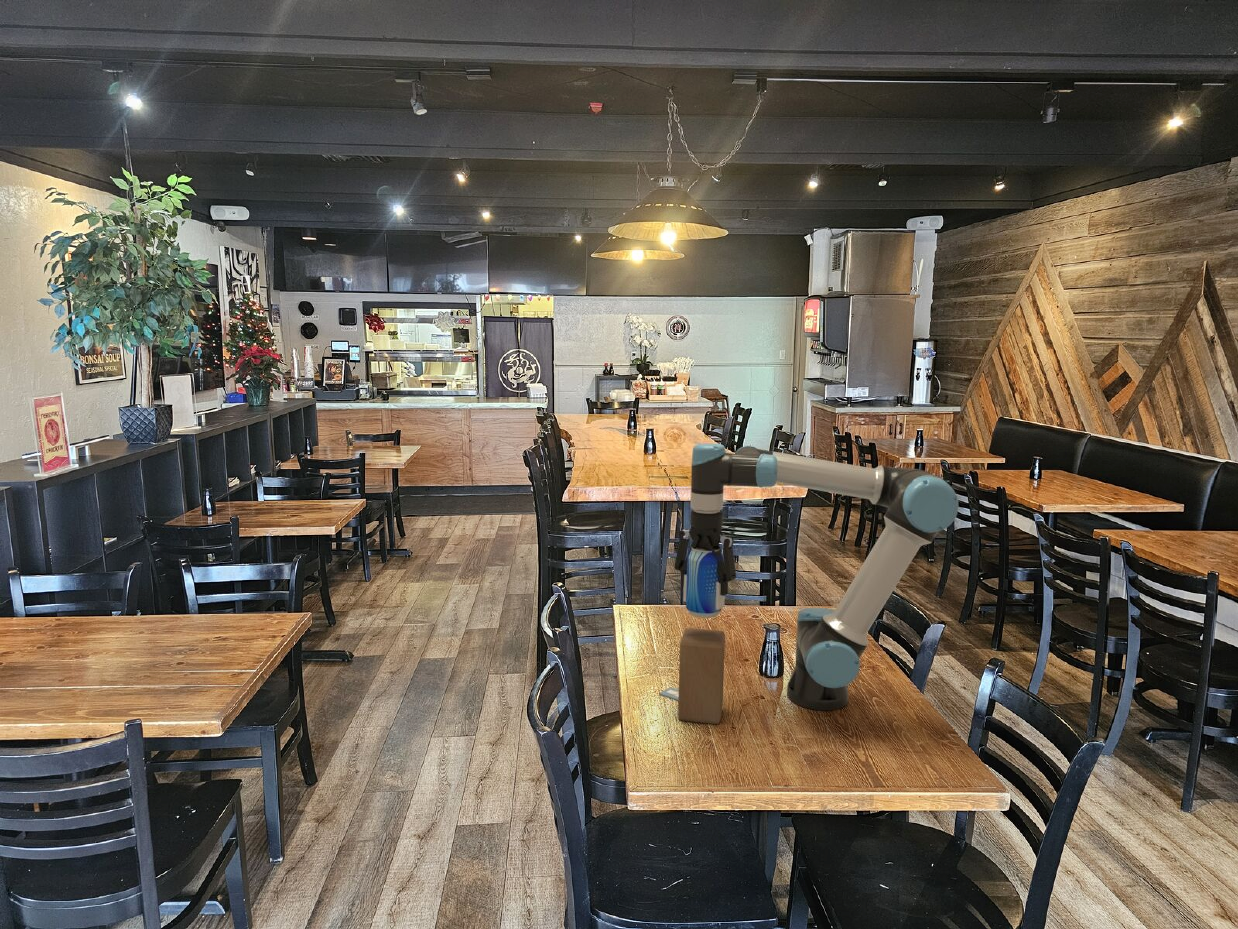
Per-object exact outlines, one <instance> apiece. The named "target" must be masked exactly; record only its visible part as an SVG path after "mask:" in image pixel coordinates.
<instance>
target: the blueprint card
mask: <svg viewBox="0 0 1238 929" xmlns="http://www.w3.org/2000/svg"><path fill="white" fill-rule="evenodd" d="M658 694H659V696H662V697H664V698H669V699H670V698H671V699H670V700H673V699H674V701H676V700H677V702H678V698H679V688H675V687H671V686H669V687H668V688H666V689H664V690H662V691H660V692H659V693H658Z"/></svg>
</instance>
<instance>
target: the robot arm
mask: <svg viewBox="0 0 1238 929" xmlns="http://www.w3.org/2000/svg"><path fill="white" fill-rule="evenodd" d="M726 451H727V450H726V447H725V446H724V445H723V444H721V443H709V442H708V443H707V442H704V443H696V444H695V445H694V446H693V448H692V455H691V473H690V475H691V477H690V478H691V479H690V480H691V485H690V488H691V489H690V508H691V510H690V513H689V514H690V515H689V524H690V527H689V528H690V529H687V528H685V529H682V530H679V531H678V539H679V541H678V546H677V551H676V557H675V561H674V570H675V571H679V573H680V574H681V575H680V576H681V584H680V585H681V586H682V587H683V600H682V601H683V602H685V603H686V589H687V556H688V554H689V553H690V551H691V550H692V548H693V549H696V548H698V549H705V550H707V551H712V554H714V555H715V557H716V559H717V574H718V577H719V580H720V581H718V582H716V609H717V610H719V609H721V608H722V609H723V608H725V600H726V599H725V596H727V595H728V593H729V583H730V582H732V581H734V580H736V579H737V572H736V571H737V570H736V566H735V556H734V548H733V546H734V541H735V538H734V537H732V536H731V537H727V536H725V535H723V532H722V528H723V522H724V520H723V518H724V516H723V515H724V514H723V511H722V510H723V508H724V488H725V487H724V486H729V487H731V486H734V487H755V488H756V487H757V488H766V487H767V488H772V487H775V485H776V484H781V485H786V486H793V487H797V488H803V489H809V490H815V491H820V492H824V493H825V492H827V493H832V494H837V495H842V496H848V497H852V498H853V497H855V498H859V499H864V500H865V499H866V500H869V501H870V503H871V504H872V505H876V506H880V507H881V506H882V507H885V508H888V509H887V510H886V512H885V514H884V515H883V519H884V524H885V527H884V529H883V531H882V532H881V534H880V535H879V537H878V539H877V540H876V542H875V544H874V545H873V547H872V548H871V550H870V552H869V554H868V555H867V557H866V559H865V560H864V562H863V563H862V565H861V567H860V568H859V570H858V572H857V573H856V574H855V577H854V579H853V580H852V582H851V583H850V585H849V586H848V588H847V590H846V592H845V593H844V595H843V596H842V598H841V600H840V602H839V603H838V605H836V607H835V609H832V608H824V607H808V608H807V607H806V608H802V609H800V610H799V612H798V614H797V619H796V623H797V624H796V626H797V627H796V628H797V630H796V644H795V646H796V647H795V665H794V669H793V670H792V673H791V675H790V678H789V681H788V683H787V688H786V696H787V698H788V699H789V700H790V701H791V702H792V703H794V704H796V705H798V706H800V707H803V708H805V709H806V708H807V709H809V710H815V711H816V710H817V711H835V710H841V709H842V708H844V707H846V706H847V705H848V703H849V691H848V687H847V686H849V685H850V684H851V683H852V682H854V681H855V680H856V679H857V676H858V674H860V673H859V672H860V666H861V662H860V658H861V657H862V656H863V653H865V652H864V651H865V650H866V648H868V646H869V639H868V636H867V634H868V633H869V630H870V629H871V627H872V625H873V624H874V622H875V621H876V619H877V618H878V615H879V614H880V612H881V611H882V609H883V608H884V606H885V605H886V603H887V601H888V600H889V598H890V596H891V595H892V593H893V591H894V590H895V588H896V587H897V585H898V583H899V582H900V580H901V579H902V577H903V575H904V574H905V572H906V571H907V569H908V568H909V566H910V564H911V562H913V559H914V557H915V556H916V555H917V553H918V551H919V550H920V548H921V547H922V546H924V545H929V544H932V542H933V541H934V539H935V537H936V536H937V534H938V533H939V532H941V531H943V530H946V529H947V528H948V527H950V525H952V523H953V522H954V521H955V519H956V518H957V515H958V512H959V500H958V496H957V494H956V492H955V490H954V488H953V487H952V486H951V485H950V484H949V483H948V482H947V481H945V480H944V479H943V478H941V477H938V476H937V475H936V476H935V475H934V474H931V473H929V472H928V471H926V470H922V469H919V468H905V467H896V466H895V467H894V466H893V467H892V466H885V465H881V464H880V465H878V466H877V467H875V468H874V467H867V466H860V465H855V464H849V463H842V462H837V461H831V460H825V459H821V458H820V459H818V458H814V457H808V456H802V455H795V454H792V453H791V454H790V453H784V452H778V451H769V450H766V449H761V448H757V447H755V446H753V445H745V446H741V447H740V448H738V449H737V450H736V452H734V453H729V452H726ZM690 539H691V541H692V542H691V544H690V547H689V543H690ZM720 542H721V544H720ZM720 545H721V546H722V549H721V546H720ZM688 548H689V551H688ZM714 549H715V550H718V549H719V551H716V552H715V550H714ZM687 553H688V554H687ZM721 554H723V555H721ZM719 556H720V557H721V558H722V556H723V558H722V561H718V557H719ZM722 609H721V610H722Z"/></svg>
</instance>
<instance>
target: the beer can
mask: <svg viewBox="0 0 1238 929" xmlns="http://www.w3.org/2000/svg"><path fill="white" fill-rule="evenodd" d="M714 550H715V549H714ZM689 551H690V550H689ZM716 551H719V549H718V550H715V552H716ZM688 553H689V552H688ZM722 554H723V553H721V555H722ZM687 555H688V556H687ZM687 555H686V558H687V589H686V602H685V609H686V610H687V612H688V614H689V615H690V616H692V617H694V618H700V619H710V618H715V617H717V616H718V615H719V614H720V612H721V611H722V609H723V608H721V609H719V610H717V609H716V582H718V581H720V580H719V577H718V574H717V559H716V557H715V555H714V554H712V551H707V550H705V549H698V548H696V549H693V548H692V550H691V551H690V553H689V554H687ZM722 558H723V559H724V556H723V555H722ZM722 558H721V557H720V556H719V557H718V561H722Z"/></svg>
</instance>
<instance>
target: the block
mask: <svg viewBox="0 0 1238 929" xmlns="http://www.w3.org/2000/svg"><path fill="white" fill-rule="evenodd" d="M725 634H726V633H725V632H724V631H723V630H719V629H718V630H714V629H703V628H695V627H694V628H690V627H687V628H685V629H684V631H683V634H682V636H681V640H680V641H679V660H678V661H679V662H678V664H679V666H678V690H679V698H678V701H677V702H678V704H677V717H678V720H680V721H685V722H693V723H695V722H696V723H704V724H712V725H713V724H714V725H717V724H719V723H720V722H721V718H722V711H723V705H724V702H723V701H724V700H723V699H724V679H725V678H724V676H725V653H726V652H725V650H726V635H725Z"/></svg>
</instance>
